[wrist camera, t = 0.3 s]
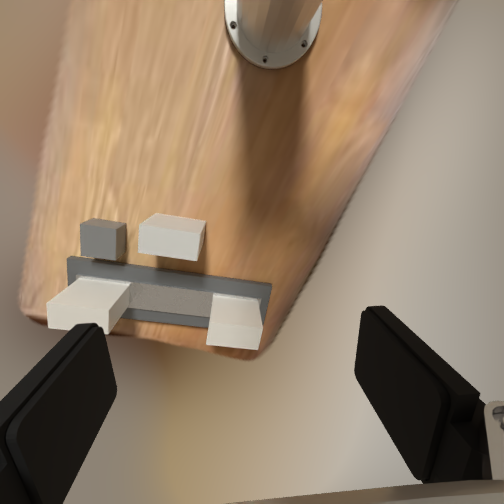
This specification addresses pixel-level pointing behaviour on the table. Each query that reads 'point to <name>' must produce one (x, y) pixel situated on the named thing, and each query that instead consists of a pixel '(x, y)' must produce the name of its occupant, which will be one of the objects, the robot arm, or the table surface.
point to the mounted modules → (117, 300)
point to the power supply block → (102, 239)
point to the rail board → (169, 279)
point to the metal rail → (169, 297)
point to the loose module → (171, 236)
